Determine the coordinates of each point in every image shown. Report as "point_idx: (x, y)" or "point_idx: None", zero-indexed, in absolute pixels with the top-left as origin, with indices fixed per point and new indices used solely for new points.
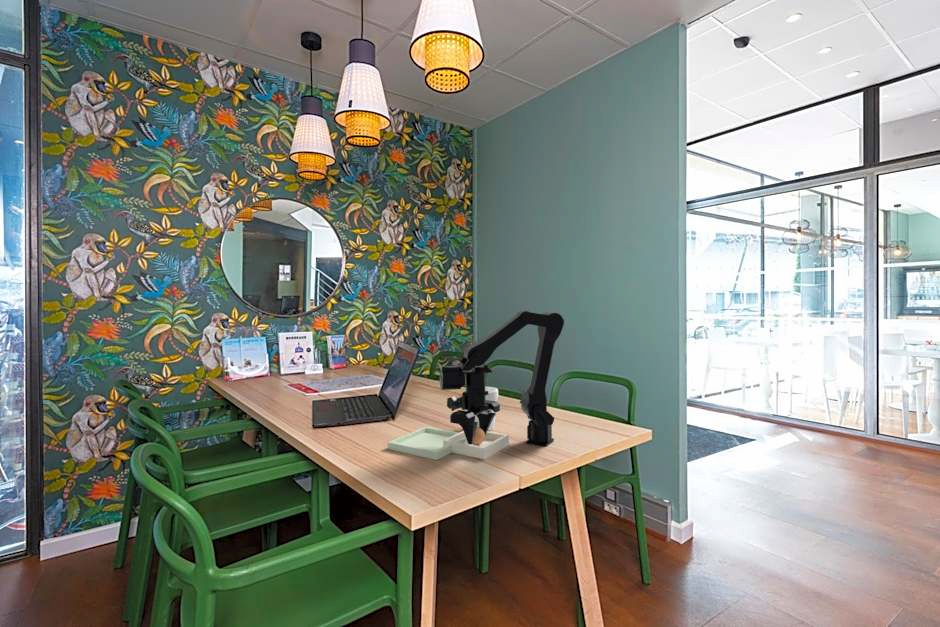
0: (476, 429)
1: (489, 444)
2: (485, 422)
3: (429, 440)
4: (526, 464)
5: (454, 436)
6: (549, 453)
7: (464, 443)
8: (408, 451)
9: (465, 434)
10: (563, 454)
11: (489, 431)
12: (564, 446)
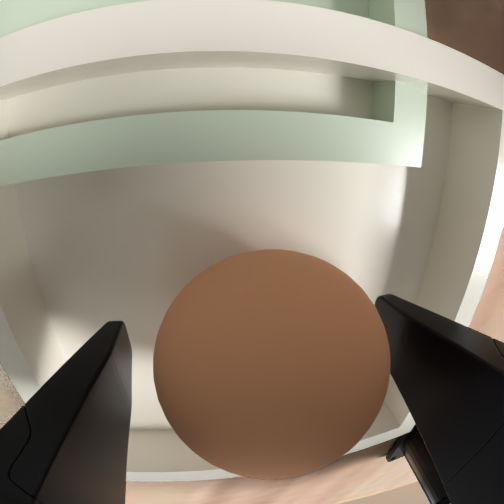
0: (249, 474)
1: (168, 475)
2: (462, 448)
3: None
4: (183, 501)
5: (127, 47)
6: (322, 487)
7: (16, 356)
8: None
9: (38, 402)
10: (327, 497)
11: (471, 317)
12: (395, 467)
